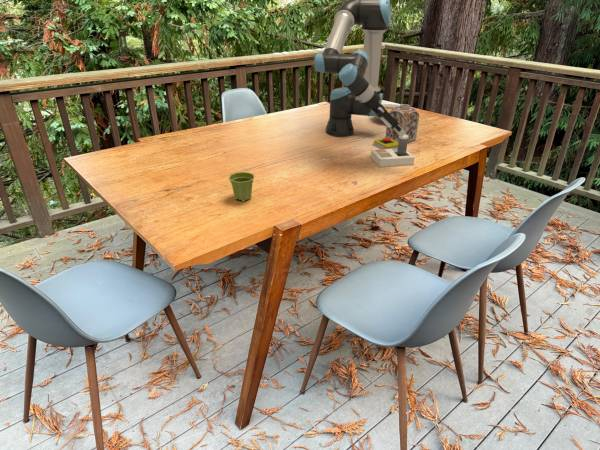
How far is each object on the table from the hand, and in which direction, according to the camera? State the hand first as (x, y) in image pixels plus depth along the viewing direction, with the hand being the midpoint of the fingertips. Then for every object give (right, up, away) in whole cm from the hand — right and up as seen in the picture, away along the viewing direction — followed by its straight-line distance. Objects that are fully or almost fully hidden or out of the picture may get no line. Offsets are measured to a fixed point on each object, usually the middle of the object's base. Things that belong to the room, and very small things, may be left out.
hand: (397, 130), depth 182 cm
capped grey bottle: (+3, -12, +8) cm, 15 cm away
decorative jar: (+10, +3, +34) cm, 35 cm away
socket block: (-1, -12, +8) cm, 15 cm away
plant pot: (-64, -32, -25) cm, 76 cm away
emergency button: (+1, -4, +24) cm, 24 cm away
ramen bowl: (+10, +19, +62) cm, 66 cm away
